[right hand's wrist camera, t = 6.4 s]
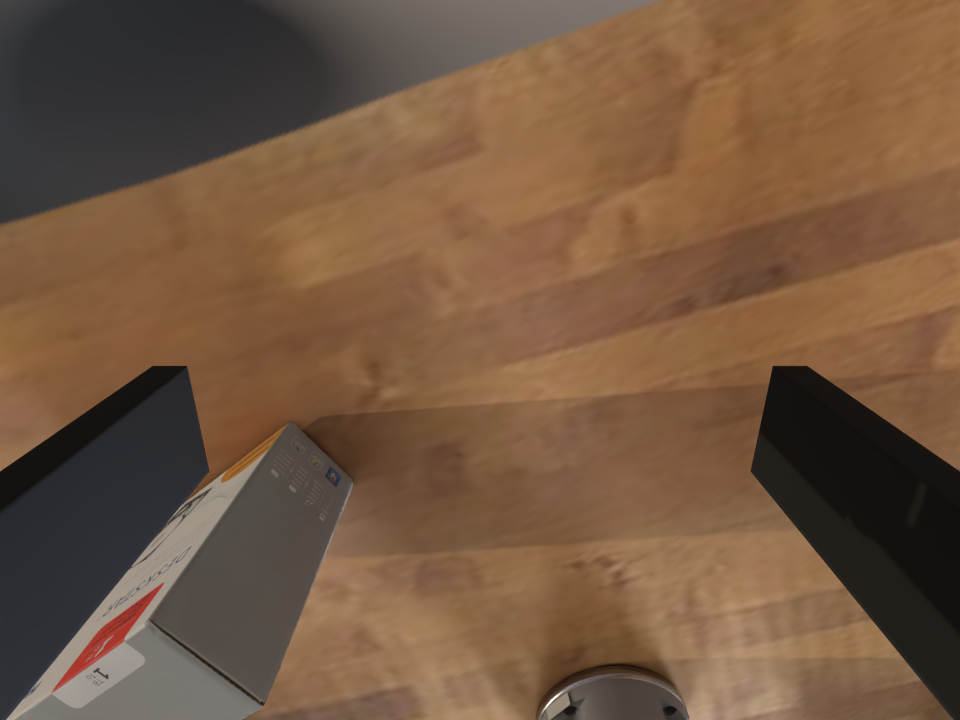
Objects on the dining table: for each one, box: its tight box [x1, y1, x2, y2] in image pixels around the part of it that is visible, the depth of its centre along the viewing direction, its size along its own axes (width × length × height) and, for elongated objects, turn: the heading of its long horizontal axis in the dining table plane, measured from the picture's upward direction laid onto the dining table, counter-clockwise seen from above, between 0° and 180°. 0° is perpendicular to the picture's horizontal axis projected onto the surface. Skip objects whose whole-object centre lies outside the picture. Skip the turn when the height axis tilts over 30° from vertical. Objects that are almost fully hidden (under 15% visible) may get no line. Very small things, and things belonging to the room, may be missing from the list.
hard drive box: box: [7, 422, 353, 720], centre depth 37 cm, size 16×8×20 cm, turn 128°
